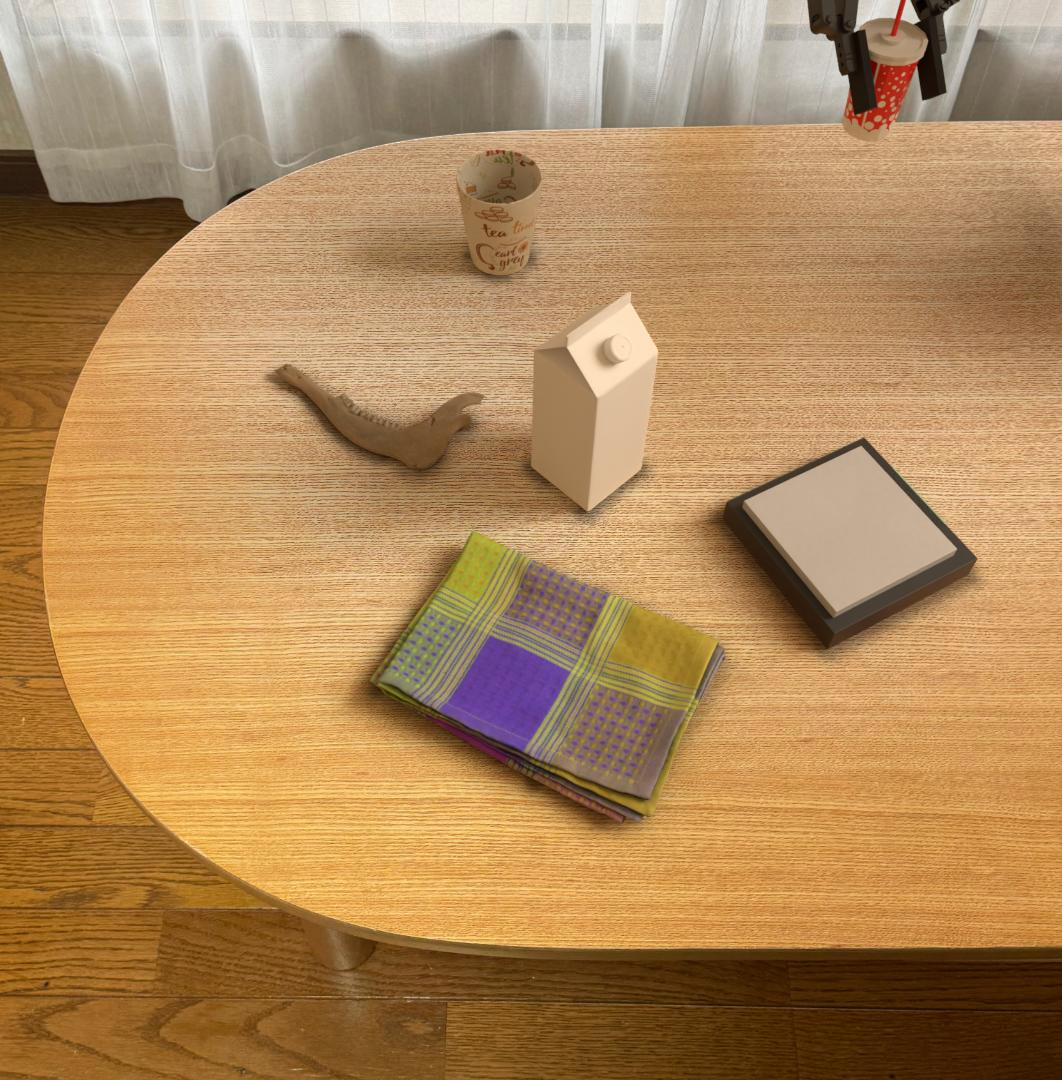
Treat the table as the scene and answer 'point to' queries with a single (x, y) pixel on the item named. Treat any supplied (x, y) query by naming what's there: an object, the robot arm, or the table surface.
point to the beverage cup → (887, 74)
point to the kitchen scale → (847, 541)
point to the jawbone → (389, 423)
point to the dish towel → (553, 677)
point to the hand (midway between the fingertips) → (900, 103)
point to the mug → (499, 208)
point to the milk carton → (593, 402)
